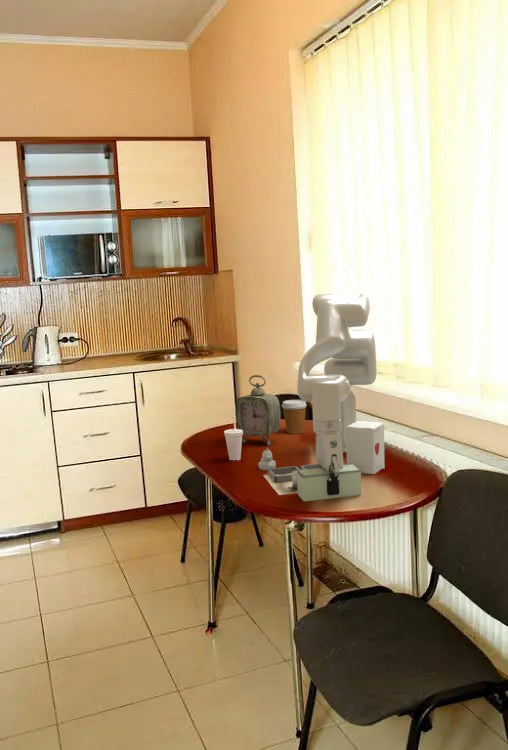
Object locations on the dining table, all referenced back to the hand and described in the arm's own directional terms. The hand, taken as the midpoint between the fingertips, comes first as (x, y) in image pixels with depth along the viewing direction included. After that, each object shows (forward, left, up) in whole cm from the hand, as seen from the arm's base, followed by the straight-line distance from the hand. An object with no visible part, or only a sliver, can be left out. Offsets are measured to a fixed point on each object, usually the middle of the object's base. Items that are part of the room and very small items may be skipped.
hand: (329, 490), depth 190 cm
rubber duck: (+10, -32, -3) cm, 34 cm away
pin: (+7, -8, -1) cm, 11 cm away
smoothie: (+17, -50, -3) cm, 53 cm away
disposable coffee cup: (-12, -80, -3) cm, 81 cm away
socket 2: (-3, -20, -1) cm, 20 cm away
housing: (0, 0, -1) cm, 1 cm away
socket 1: (+7, -20, -1) cm, 21 cm away
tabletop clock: (+4, -69, -3) cm, 69 cm away
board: (+2, -14, -2) cm, 15 cm away
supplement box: (-18, -20, -3) cm, 27 cm away
